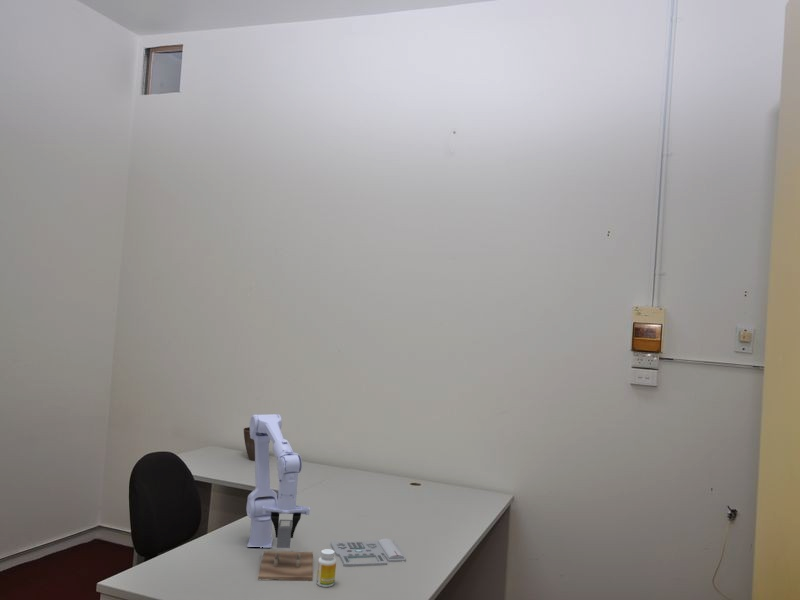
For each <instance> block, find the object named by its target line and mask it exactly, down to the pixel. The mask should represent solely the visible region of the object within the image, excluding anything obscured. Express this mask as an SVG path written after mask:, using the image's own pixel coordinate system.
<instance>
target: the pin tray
mask: <svg viewBox="0 0 800 600" xmlns="http://www.w3.org/2000/svg"><path fill="white" fill-rule="evenodd" d="M313 558H314V552H313V551H281V550H279V551H276V550H272V551H271V550H264V551H263V554H262V558H261V564H260V566H259V573H258V576H257V580H258V579H280V580H279V581H307V580H308V581H311V582H312V581H313V573H314V572H313V570H314V569H313V566H314V565H313V563H314V559H313ZM281 579H282V580H281Z"/></svg>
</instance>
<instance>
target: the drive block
mask: <svg viewBox="0 0 800 600" xmlns="http://www.w3.org/2000/svg"><path fill="white" fill-rule="evenodd" d="M292 520H293V519H279V526H278V536H277V538H276V539H277V540H276V548H277V549H278V548H279V549H290V548H291V540H292V538H291V531H292Z"/></svg>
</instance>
